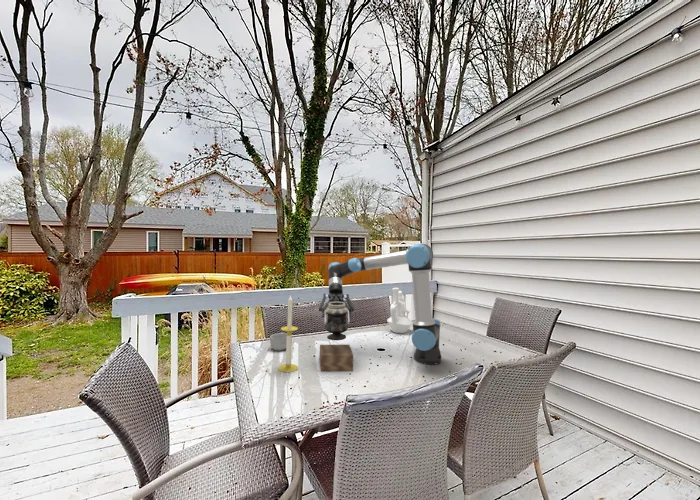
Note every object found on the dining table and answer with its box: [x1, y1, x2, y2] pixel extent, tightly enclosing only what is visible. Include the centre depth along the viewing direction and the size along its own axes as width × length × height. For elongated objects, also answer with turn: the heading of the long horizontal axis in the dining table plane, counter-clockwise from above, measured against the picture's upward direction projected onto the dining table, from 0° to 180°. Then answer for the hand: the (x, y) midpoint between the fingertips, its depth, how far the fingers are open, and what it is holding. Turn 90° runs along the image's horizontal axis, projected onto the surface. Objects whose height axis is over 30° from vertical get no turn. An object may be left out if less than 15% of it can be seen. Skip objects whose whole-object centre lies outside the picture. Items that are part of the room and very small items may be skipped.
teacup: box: [269, 331, 287, 352], centre depth 202 cm, size 14×11×8 cm
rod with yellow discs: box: [277, 294, 299, 373], centre depth 172 cm, size 10×10×38 cm
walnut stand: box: [318, 344, 354, 372], centre depth 180 cm, size 16×16×8 cm
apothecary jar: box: [324, 302, 349, 341], centre depth 178 cm, size 12×12×18 cm
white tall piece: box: [386, 287, 413, 334], centre depth 243 cm, size 18×22×32 cm
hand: (337, 322), depth 176 cm, fingers closed on apothecary jar, 11 cm apart
